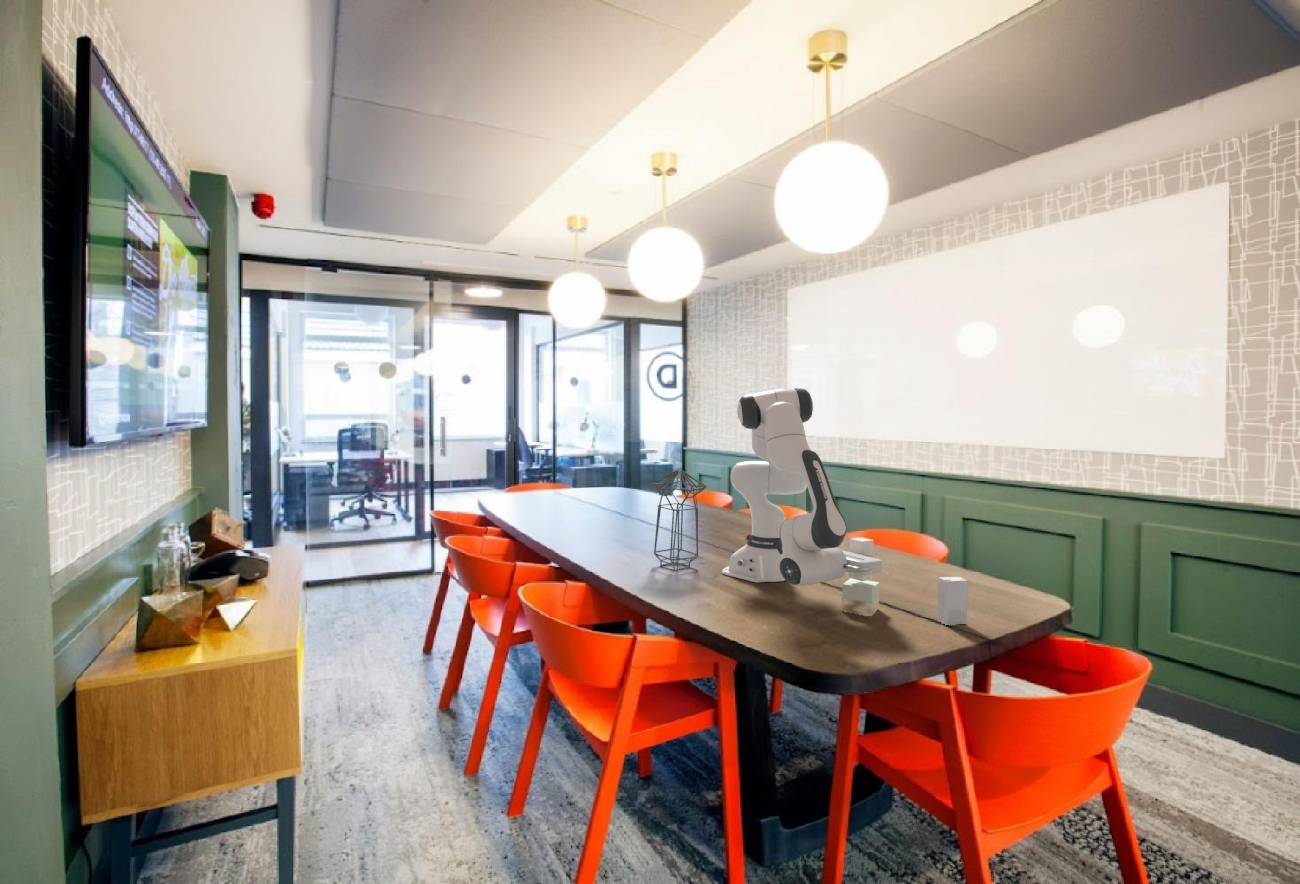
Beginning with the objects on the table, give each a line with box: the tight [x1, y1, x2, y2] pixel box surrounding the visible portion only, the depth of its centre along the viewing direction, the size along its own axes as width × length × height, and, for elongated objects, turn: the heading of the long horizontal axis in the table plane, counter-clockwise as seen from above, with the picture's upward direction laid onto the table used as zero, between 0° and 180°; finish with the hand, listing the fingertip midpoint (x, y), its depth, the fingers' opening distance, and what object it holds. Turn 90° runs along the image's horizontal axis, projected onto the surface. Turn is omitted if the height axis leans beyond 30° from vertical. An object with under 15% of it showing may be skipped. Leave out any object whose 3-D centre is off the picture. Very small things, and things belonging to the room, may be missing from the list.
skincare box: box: [936, 576, 969, 626], centre depth 165 cm, size 6×4×12 cm
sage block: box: [841, 578, 880, 603], centre depth 176 cm, size 8×8×4 cm
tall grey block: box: [848, 536, 874, 581], centre depth 175 cm, size 4×4×11 cm
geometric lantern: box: [649, 469, 708, 572], centre depth 221 cm, size 16×16×35 cm
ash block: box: [840, 596, 880, 617], centre depth 176 cm, size 8×8×4 cm
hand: (863, 556), depth 175 cm, fingers closed on tall grey block, 4 cm apart
